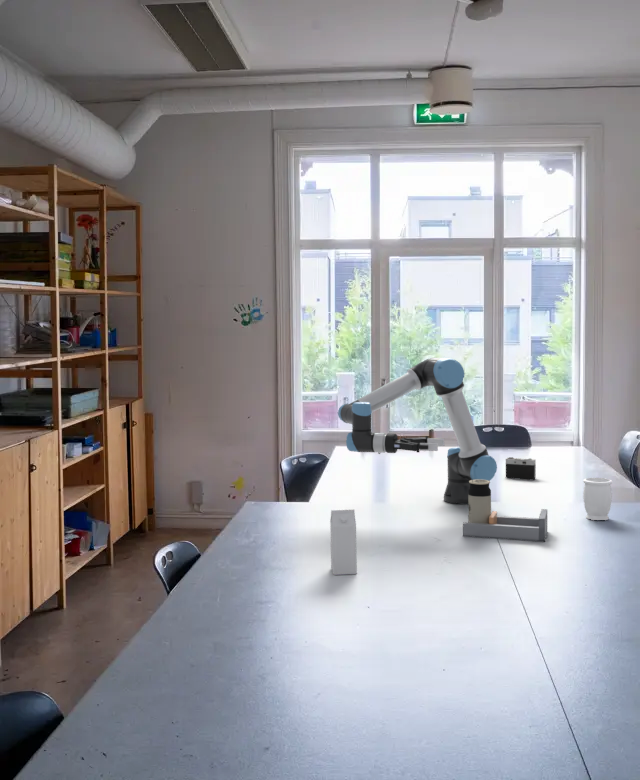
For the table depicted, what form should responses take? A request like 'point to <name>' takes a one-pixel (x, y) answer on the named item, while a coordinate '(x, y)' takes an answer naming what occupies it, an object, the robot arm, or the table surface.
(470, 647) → the table surface
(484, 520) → the travel mug
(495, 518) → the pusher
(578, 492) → the table surface
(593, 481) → the jar
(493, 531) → the grey open tray
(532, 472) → the camera
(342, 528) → the milk carton
